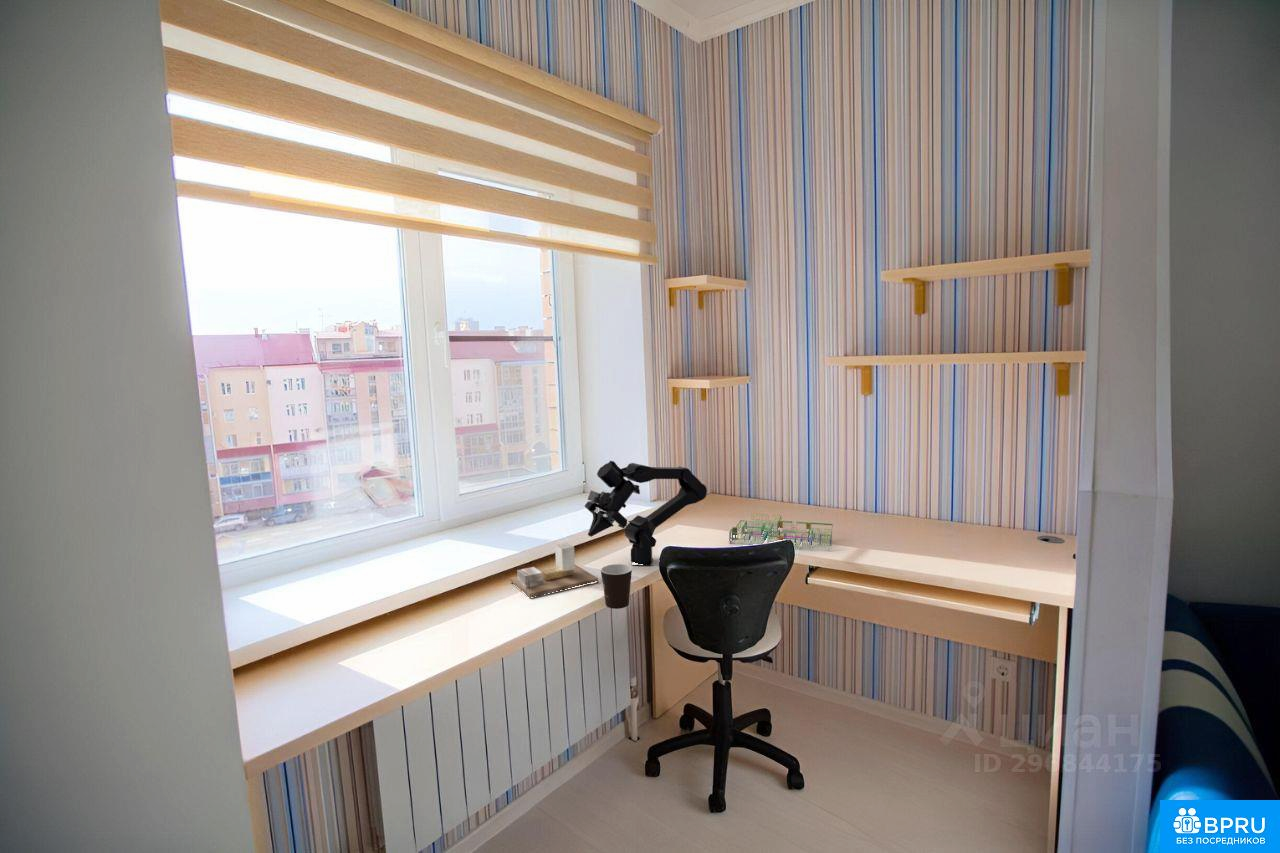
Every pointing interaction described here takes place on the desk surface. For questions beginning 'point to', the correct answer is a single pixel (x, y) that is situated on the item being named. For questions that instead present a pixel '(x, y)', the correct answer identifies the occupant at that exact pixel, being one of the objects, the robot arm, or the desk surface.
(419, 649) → the desk surface
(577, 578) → the lock plate
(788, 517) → the desk surface
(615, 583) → the coffee mug
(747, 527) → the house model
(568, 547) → the white boxy piece
